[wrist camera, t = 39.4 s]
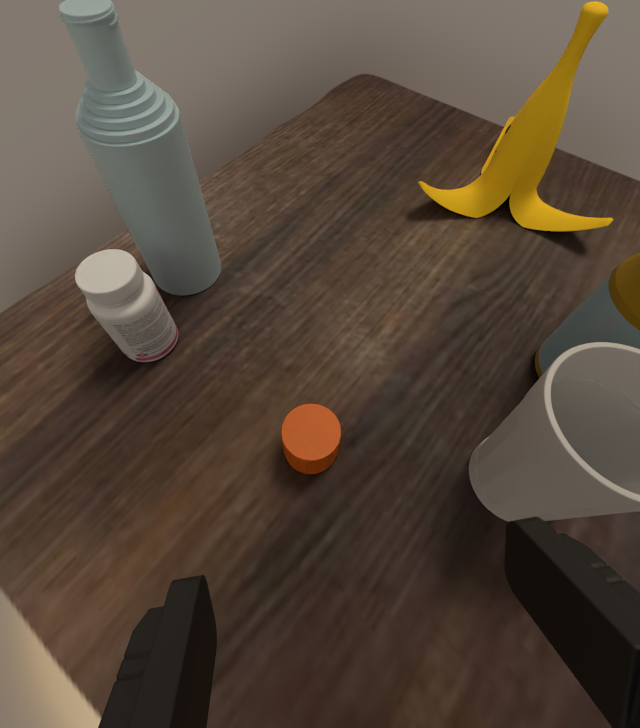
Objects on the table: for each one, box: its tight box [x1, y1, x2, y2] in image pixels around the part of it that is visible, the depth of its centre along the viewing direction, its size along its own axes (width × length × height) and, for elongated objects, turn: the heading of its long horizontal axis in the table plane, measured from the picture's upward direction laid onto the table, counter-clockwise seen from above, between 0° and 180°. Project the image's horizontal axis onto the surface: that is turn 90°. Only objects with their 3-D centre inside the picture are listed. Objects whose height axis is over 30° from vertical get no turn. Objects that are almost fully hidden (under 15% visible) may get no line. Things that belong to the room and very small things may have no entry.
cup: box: [469, 342, 640, 522], centre depth 23 cm, size 8×8×12 cm
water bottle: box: [59, 0, 221, 295], centre depth 28 cm, size 6×6×20 cm
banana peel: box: [418, 2, 613, 231], centre depth 35 cm, size 16×19×17 cm
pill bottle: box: [75, 249, 178, 362], centre depth 29 cm, size 5×5×8 cm
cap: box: [281, 404, 341, 474], centre depth 27 cm, size 4×4×4 cm
